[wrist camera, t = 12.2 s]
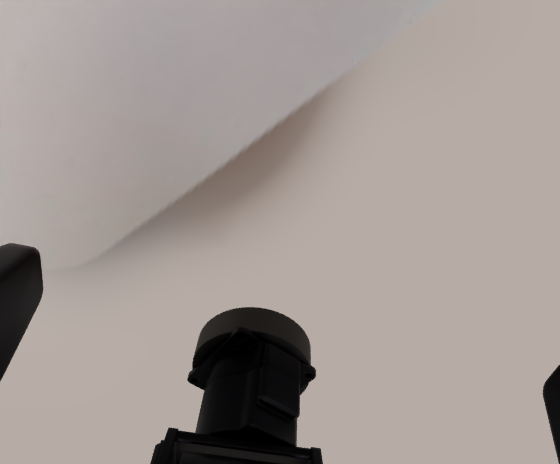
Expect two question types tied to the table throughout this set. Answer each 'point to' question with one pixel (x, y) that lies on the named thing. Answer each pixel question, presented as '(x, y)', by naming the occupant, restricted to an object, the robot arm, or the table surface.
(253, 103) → the table surface
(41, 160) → the table surface
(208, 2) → the table surface
